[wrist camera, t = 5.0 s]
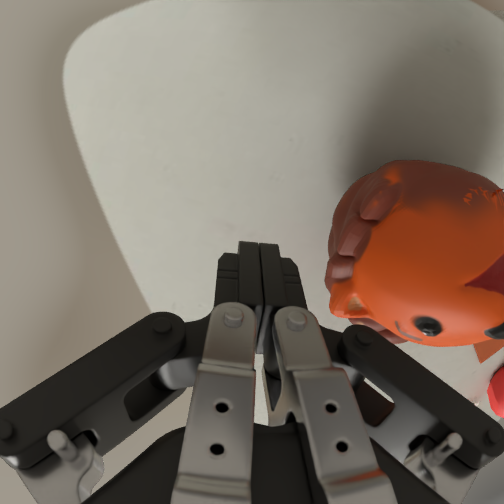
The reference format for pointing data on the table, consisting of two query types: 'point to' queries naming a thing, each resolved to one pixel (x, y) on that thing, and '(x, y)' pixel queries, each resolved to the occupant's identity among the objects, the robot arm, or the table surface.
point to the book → (488, 348)
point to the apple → (497, 393)
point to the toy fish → (420, 255)
